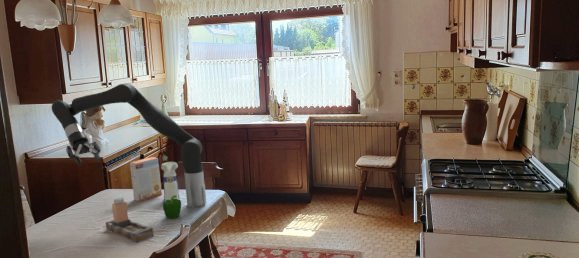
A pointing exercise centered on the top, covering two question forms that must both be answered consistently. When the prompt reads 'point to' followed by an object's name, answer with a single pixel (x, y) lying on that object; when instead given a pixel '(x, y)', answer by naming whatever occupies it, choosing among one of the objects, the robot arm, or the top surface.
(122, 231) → the fader track
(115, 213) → the slider tab
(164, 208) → the bell pepper
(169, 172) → the white bottle
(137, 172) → the cracker box
